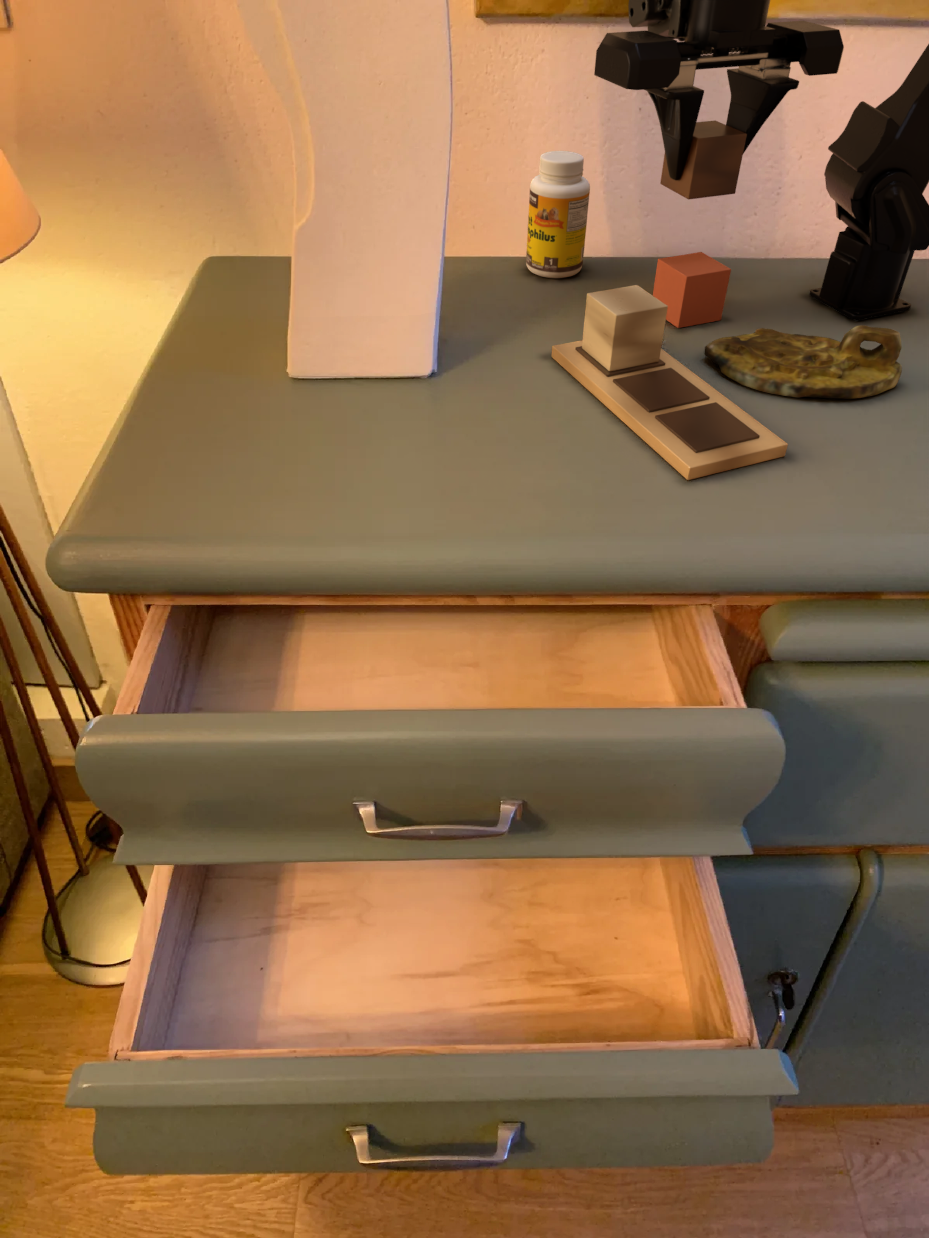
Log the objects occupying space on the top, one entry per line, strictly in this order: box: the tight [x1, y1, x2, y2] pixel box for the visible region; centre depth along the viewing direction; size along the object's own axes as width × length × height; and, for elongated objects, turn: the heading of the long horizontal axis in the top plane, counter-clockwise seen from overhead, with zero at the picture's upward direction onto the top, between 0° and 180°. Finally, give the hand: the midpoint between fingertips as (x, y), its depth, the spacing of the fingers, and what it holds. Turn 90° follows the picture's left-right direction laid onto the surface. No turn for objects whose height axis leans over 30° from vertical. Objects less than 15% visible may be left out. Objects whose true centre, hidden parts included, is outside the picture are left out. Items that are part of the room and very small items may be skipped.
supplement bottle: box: [525, 150, 591, 279], centre depth 84 cm, size 6×6×10 cm
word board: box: [551, 284, 789, 481], centre depth 66 cm, size 8×20×6 cm, turn 23°
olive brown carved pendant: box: [703, 324, 903, 400], centre depth 70 cm, size 9×5×15 cm
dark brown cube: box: [659, 119, 747, 200], centre depth 73 cm, size 4×4×4 cm
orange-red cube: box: [652, 251, 732, 329], centre depth 78 cm, size 4×4×4 cm
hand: (699, 176), depth 73 cm, fingers closed on dark brown cube, 4 cm apart
